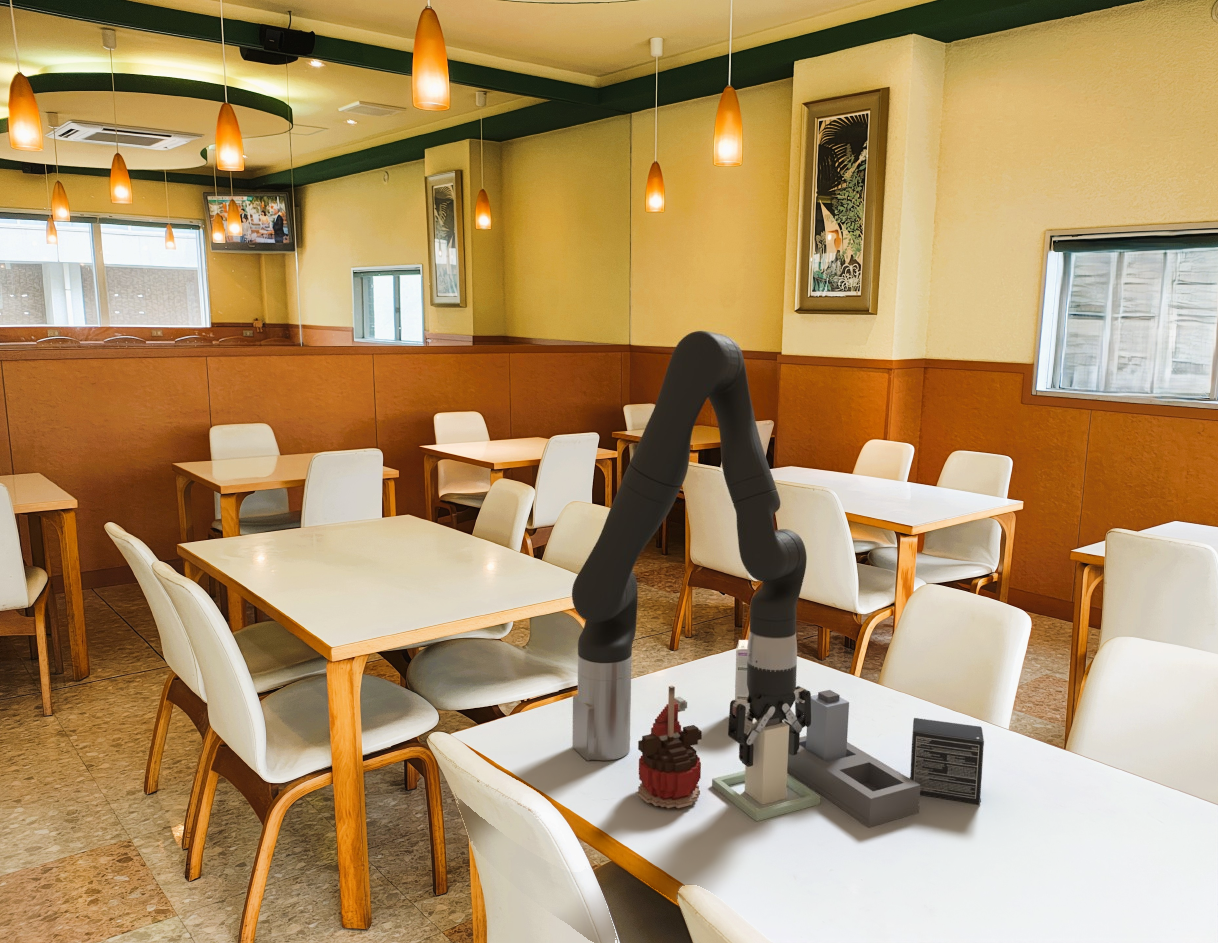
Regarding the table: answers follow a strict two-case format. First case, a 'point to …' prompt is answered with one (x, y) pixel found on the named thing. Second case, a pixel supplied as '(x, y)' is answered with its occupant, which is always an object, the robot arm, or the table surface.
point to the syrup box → (741, 672)
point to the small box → (947, 760)
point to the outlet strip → (857, 784)
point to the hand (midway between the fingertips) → (769, 758)
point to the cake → (670, 759)
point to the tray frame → (771, 811)
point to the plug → (769, 763)
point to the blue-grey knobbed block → (828, 726)
